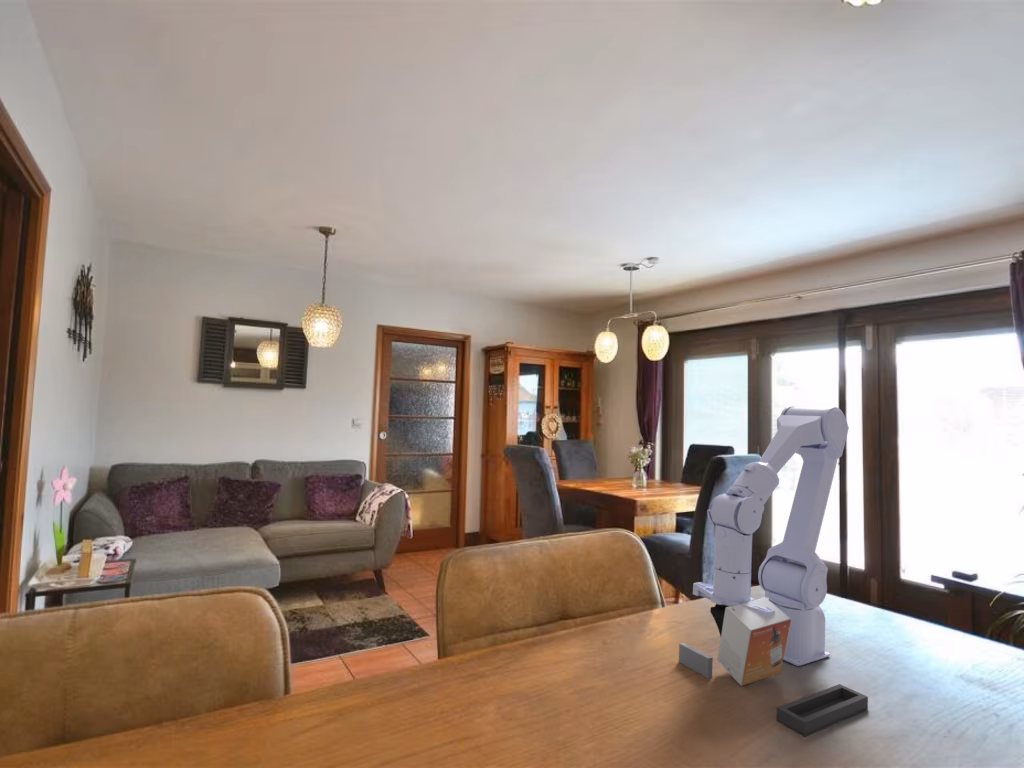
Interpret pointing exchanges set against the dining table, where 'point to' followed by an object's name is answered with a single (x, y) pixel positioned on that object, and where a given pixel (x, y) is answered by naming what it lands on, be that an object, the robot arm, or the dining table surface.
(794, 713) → the tray
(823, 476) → the robot arm
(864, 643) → the dining table surface
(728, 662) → the small box
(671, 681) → the dining table surface
